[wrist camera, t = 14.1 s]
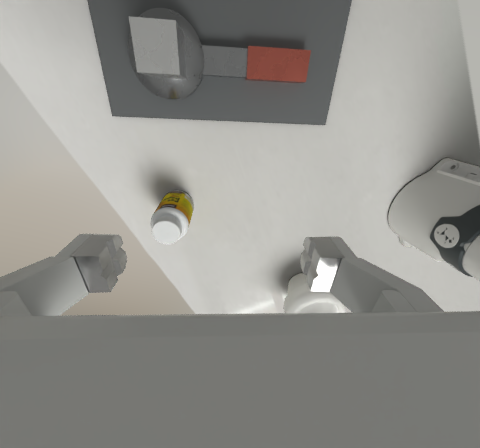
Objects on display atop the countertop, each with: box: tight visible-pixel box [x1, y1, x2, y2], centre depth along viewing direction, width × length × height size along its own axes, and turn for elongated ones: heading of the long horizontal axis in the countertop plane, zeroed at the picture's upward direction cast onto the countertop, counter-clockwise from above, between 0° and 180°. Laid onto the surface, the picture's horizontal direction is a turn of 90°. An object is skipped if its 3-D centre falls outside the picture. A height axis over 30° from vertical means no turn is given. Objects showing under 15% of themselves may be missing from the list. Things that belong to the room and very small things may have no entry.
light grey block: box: [129, 16, 187, 79], centre depth 25 cm, size 4×4×6 cm
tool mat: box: [88, 0, 352, 125], centre depth 28 cm, size 32×22×1 cm
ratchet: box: [128, 8, 311, 99], centre depth 28 cm, size 22×9×5 cm, turn 87°
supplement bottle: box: [151, 190, 194, 244], centre depth 35 cm, size 6×6×10 cm
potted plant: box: [283, 273, 346, 313], centre depth 41 cm, size 13×12×25 cm
